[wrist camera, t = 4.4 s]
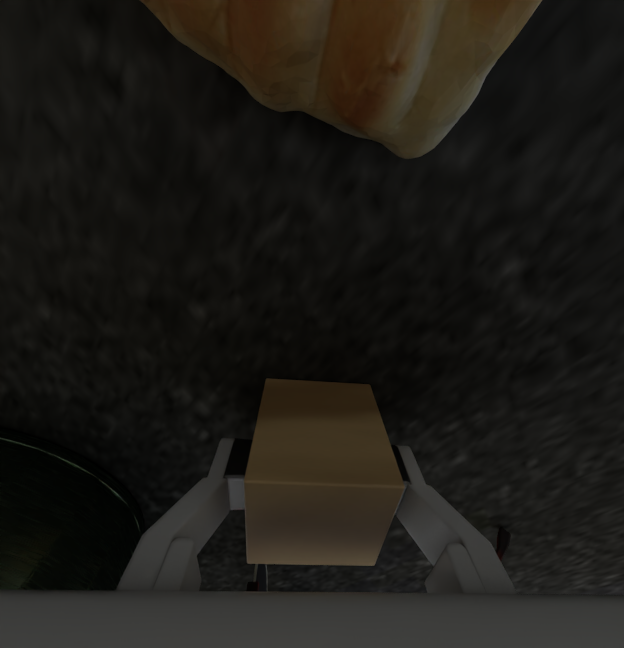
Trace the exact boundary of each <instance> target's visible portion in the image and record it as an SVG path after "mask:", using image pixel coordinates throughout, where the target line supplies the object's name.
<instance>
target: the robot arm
mask: <svg viewBox="0 0 624 648" xmlns="http://www.w3.org/2000/svg"><path fill="white" fill-rule="evenodd" d="M252 441H253V440H250V439H236V438H222V439H221V441H220V442H219V445H218V448H217V451H216V454H215V457H214V460H213V462H212V465H211V468H210V471H209V474H208V477H207V478H202V479H201V480H200V481H199V482H198V483H197V484H196V485H195V486H194V487H193V488H192V489H191V490H190V491H188V492H187V493H186V494H185V495H184V496H183V497H182V498H181V499H180V500H179V501H178V502H177V503H176V504H175V505H174V506H173V507H171V508H170V509H169V510H168V511H167V512H166V513H165V514H164V515H163V516H162V517H161V518H160V519H159V520H158V521H157V522H156V523H154V524H153V525H152V526H151V527H150V528H149V529H148V530H147V531H146V532H145V533H144V534H143V535H142V536H141V539H140V541H139V543H138V545H137V547H136V549H135V551H134V553H133V555H132V557H131V559H130V561H129V563H128V565H127V567H126V569H125V571H124V574H123V576H122V578H121V580H120V582H119V584H118V586H117V588H116V590H8V589H0V648H624V595H589V594H518V593H517V591H516V590H515V588H514V586H513V584H512V582H511V580H510V578H509V576H508V575H507V573H506V571H505V569H504V567H503V565H502V563H501V561H500V560H499V558H498V556H497V554H496V552H495V550H494V548H493V546H492V545H491V543H490V542H489V541H488V540H487V539H486V538H485V537H484V536H483V535H482V534H481V533H480V532H479V531H478V530H476V529H475V528H474V527H473V526H472V525H471V524H470V523H469V522H468V521H467V520H466V519H465V518H464V517H463V516H462V515H461V514H460V513H459V512H457V511H456V510H455V509H454V508H453V507H452V506H451V505H450V504H449V503H448V502H447V501H446V500H445V499H444V498H443V497H442V496H441V495H440V494H438V493H437V492H436V491H435V490H434V489H433V488H432V487H431V486H430V485H426V483H425V481H424V479H423V476H422V474H421V472H420V469H419V467H418V465H417V462H416V460H415V458H414V455H413V453H412V451H411V448H410V447H409V446H395V445H391V448H392V451H393V453H394V456H395V459H396V462H397V465H398V468H399V471H400V474H401V477H402V480H403V483H404V486H405V489H404V491H403V494H402V496H401V499H400V501H399V504H398V507H397V509H396V512H395V514H397V515H396V516H397V518H398V519H399V520H400V522H401V523H402V524H403V526H404V527H405V529H406V530H407V531H408V533H409V534H410V535H411V537H412V538H413V539H414V541H415V542H416V543H417V545H418V546H419V548H420V549H421V550H422V552H423V553H424V554H425V556H426V557H427V558H428V560H429V561H430V562H431V564H432V565H433V569H432V570H431V572H430V574H429V575H428V577H427V579H426V581H425V586H426V589H427V593H365V592H250V591H199V588H200V584H201V576H200V571H199V566H198V560H197V554H198V553H199V552H200V550H201V549H202V548H203V546H204V545H205V544H206V542H207V541H208V540H209V538H210V537H211V536H212V534H213V533H214V532H215V530H216V529H217V528H218V526H219V525H220V524H221V522H222V521H223V520H224V519H225V517H226V516H227V515H228V513H229V512H230V510H245V501H244V478H245V473H246V468H247V464H248V459H249V455H250V450H251V445H252Z"/></svg>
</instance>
